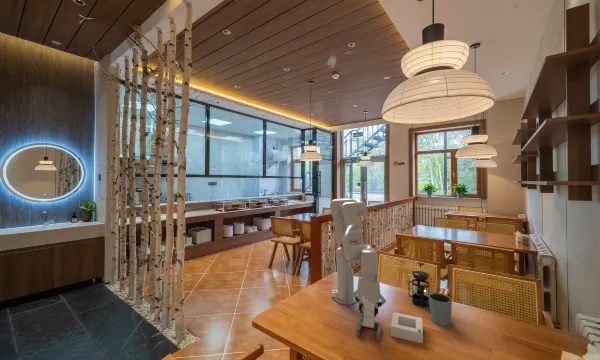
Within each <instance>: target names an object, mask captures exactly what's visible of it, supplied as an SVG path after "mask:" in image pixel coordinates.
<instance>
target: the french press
mask: <svg viewBox="0 0 600 360" xmlns="http://www.w3.org/2000/svg"><path fill="white" fill-rule="evenodd" d="M416 264H417V265H418V266H419V270H413V271H412V272H411V274H412V277H413V278H414V279H412V280H409V281H407V282H408V297H409V298H411V302H412V304H413V305H415V306H416V307H422V308H426V307H427V308H428V307H430V302H429V294H430V282H429V281H427V280H428V279H429V277H430V274H429V273H428V272H425V271H422V266H425V264H426V263H424V262H416ZM415 282H416V283H415ZM410 283H411V286H410ZM422 283H425V284H426V285H422ZM410 287H411V288H410ZM414 287H416V288H414ZM426 288H427V290H428V291H427V290H426ZM410 289H411V292H410ZM410 293H411V295H410Z"/></svg>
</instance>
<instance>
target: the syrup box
mask: <svg viewBox="0 0 600 360" xmlns="http://www.w3.org/2000/svg"><path fill="white" fill-rule="evenodd" d="M367 298H369V297H368V296H367ZM367 298H366V297H364V296H362V313H361V318H362V319H361V318H360V319H361V325H362V326H363V327H364V326H366V327H365V328H369V327H371V328H370V329H373V328H374V323H375V322H376V317H375V316H374V313H375V303H372V302H368V300H367Z"/></svg>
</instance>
